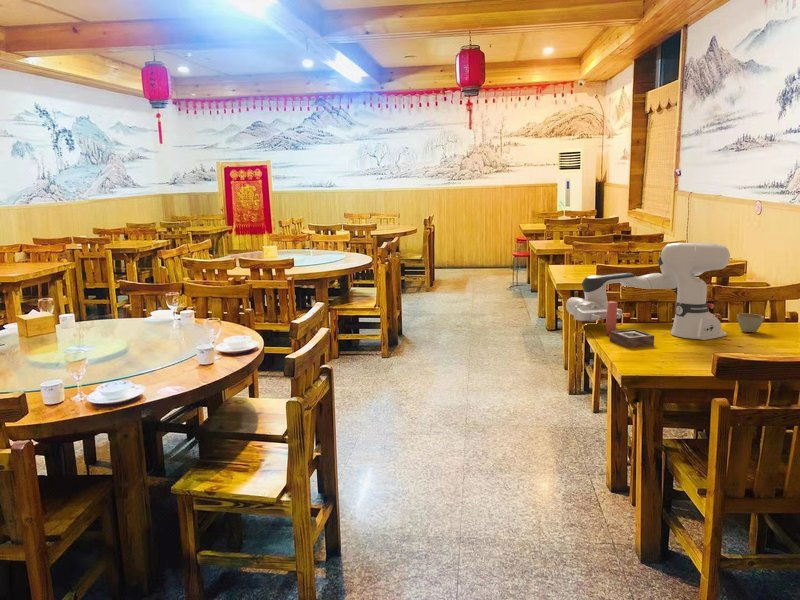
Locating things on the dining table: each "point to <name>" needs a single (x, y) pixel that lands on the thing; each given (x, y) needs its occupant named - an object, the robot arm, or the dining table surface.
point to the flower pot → (749, 322)
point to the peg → (611, 317)
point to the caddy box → (631, 338)
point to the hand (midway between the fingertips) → (609, 317)
